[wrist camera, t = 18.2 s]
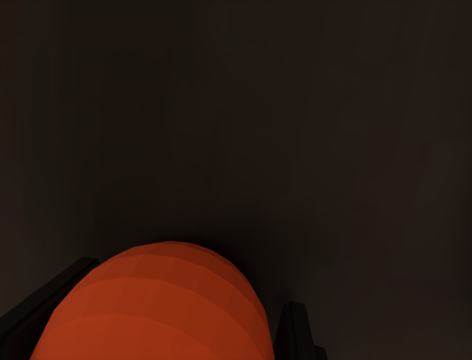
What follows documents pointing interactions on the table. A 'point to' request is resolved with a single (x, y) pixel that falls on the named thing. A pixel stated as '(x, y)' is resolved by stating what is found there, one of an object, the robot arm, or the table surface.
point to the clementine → (159, 310)
